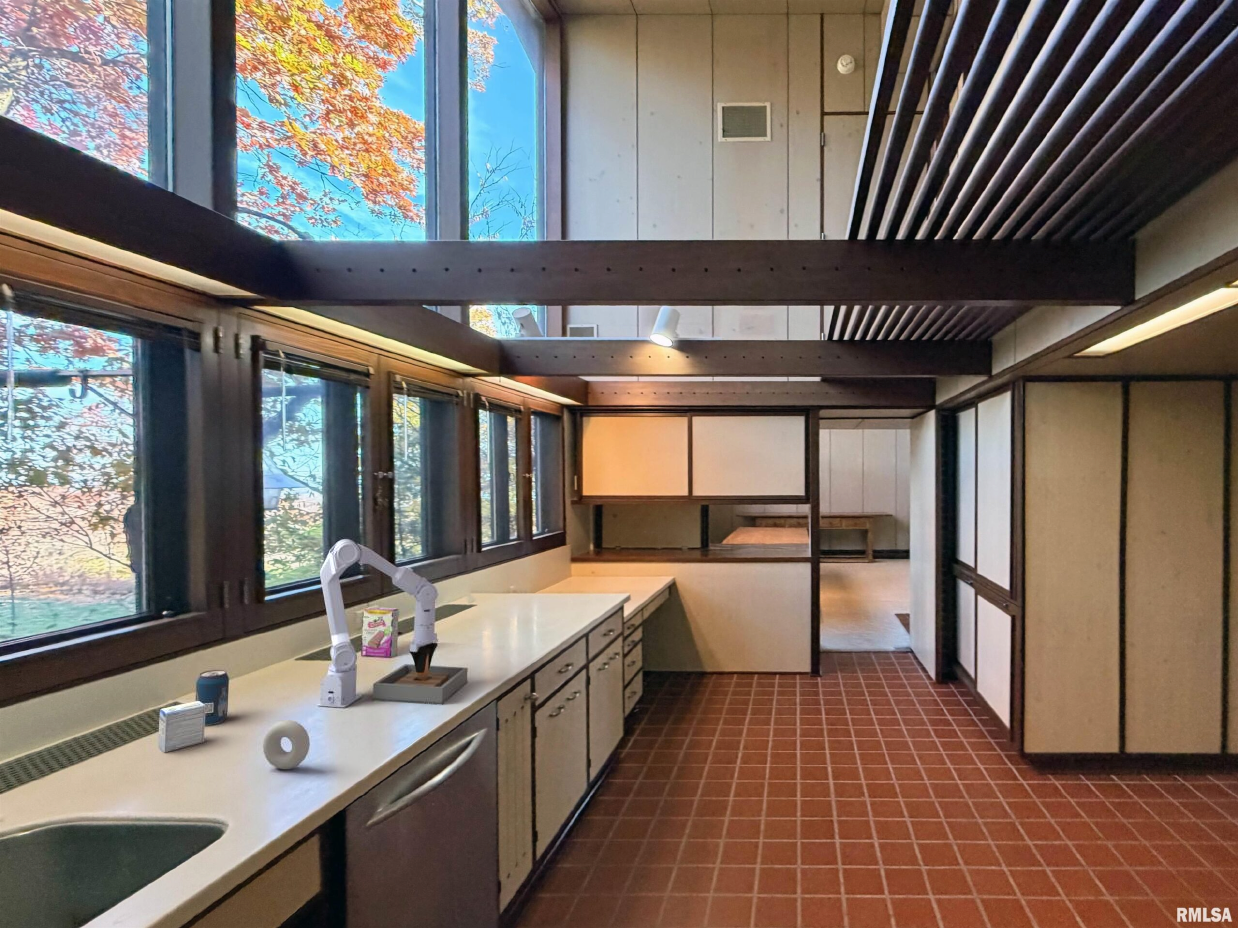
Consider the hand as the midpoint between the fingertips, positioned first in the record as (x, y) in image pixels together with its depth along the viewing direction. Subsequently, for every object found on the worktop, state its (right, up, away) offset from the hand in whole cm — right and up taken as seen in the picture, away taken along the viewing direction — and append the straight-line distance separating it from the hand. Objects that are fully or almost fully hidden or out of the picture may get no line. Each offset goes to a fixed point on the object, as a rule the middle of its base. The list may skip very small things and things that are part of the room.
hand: (422, 670), depth 187 cm
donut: (-13, -4, -52) cm, 54 cm away
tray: (0, -6, 0) cm, 6 cm away
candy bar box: (-26, -7, +36) cm, 45 cm away
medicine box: (-42, -4, -42) cm, 59 cm away
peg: (0, -2, 0) cm, 2 cm away
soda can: (-44, -4, -27) cm, 52 cm away
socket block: (0, -6, 0) cm, 6 cm away
